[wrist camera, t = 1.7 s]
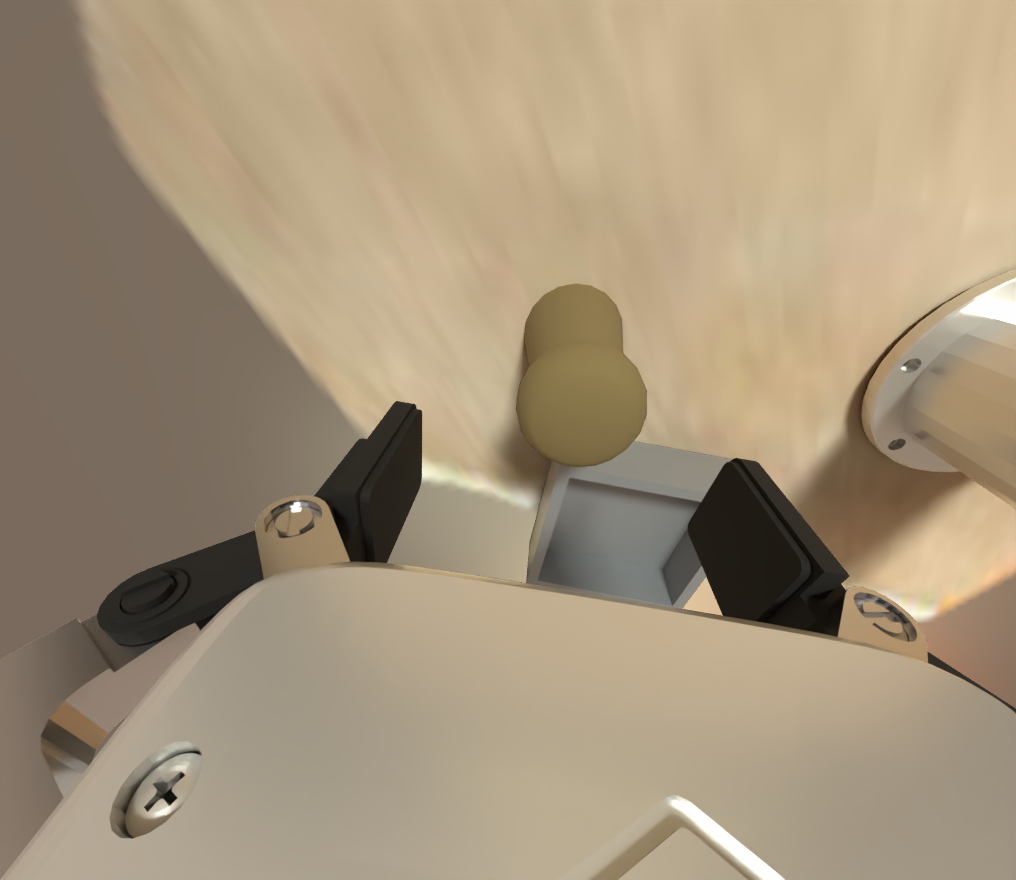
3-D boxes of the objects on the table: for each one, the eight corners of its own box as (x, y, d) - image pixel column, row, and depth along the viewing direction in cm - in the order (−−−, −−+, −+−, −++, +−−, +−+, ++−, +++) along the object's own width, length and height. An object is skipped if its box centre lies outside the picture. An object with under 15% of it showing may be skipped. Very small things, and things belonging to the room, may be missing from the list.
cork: (541, 391, 25) (531, 502, 16) (510, 305, 22) (475, 379, 13) (631, 365, 23) (679, 472, 14) (610, 267, 20) (653, 322, 11)
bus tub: (732, 459, 26) (761, 502, 22) (664, 567, 33) (678, 613, 29) (559, 427, 26) (559, 465, 22) (529, 541, 33) (526, 584, 30)
